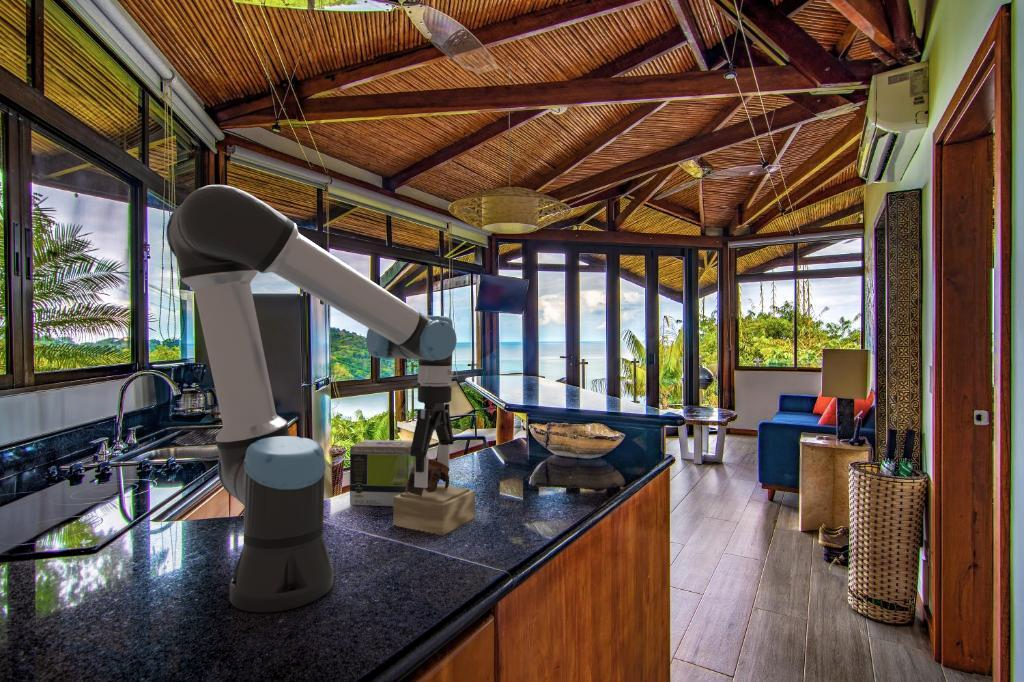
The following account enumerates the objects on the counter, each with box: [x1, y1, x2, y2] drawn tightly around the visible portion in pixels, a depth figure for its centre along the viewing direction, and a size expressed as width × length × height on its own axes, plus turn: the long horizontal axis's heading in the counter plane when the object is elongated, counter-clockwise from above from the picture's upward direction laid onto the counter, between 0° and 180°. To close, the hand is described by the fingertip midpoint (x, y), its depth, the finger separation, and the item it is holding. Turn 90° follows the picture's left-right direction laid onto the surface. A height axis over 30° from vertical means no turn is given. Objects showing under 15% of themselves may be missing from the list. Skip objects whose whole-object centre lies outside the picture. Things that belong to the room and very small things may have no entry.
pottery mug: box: [405, 458, 450, 496], centre depth 116 cm, size 12×10×8 cm
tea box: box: [349, 439, 415, 507], centre depth 131 cm, size 15×10×15 cm, turn 84°
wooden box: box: [392, 483, 476, 536], centre depth 116 cm, size 13×13×7 cm
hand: (432, 479), depth 117 cm, fingers open, 13 cm apart
